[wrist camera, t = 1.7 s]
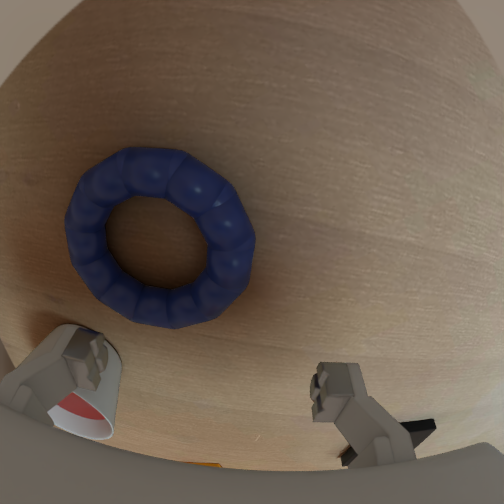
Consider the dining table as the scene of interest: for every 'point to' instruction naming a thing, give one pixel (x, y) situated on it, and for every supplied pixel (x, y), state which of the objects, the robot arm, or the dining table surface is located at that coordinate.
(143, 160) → the ring
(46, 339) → the candle
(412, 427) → the black post stand
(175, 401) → the dining table surface
